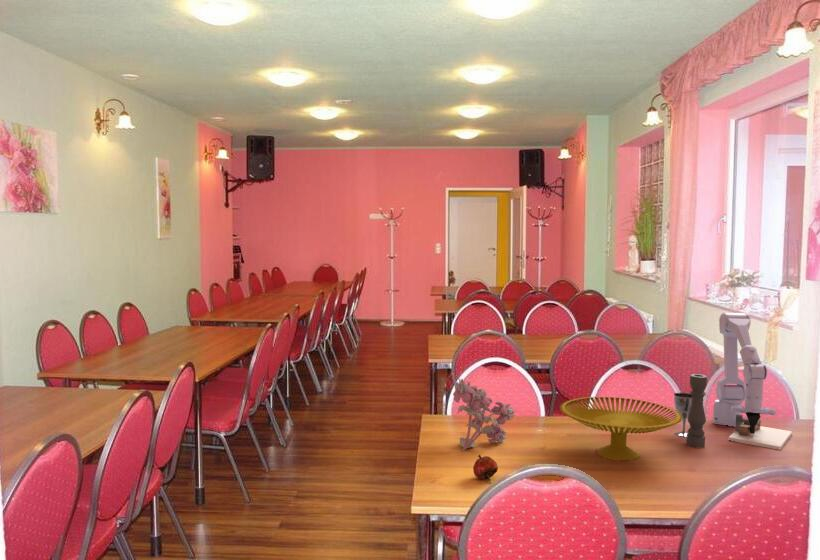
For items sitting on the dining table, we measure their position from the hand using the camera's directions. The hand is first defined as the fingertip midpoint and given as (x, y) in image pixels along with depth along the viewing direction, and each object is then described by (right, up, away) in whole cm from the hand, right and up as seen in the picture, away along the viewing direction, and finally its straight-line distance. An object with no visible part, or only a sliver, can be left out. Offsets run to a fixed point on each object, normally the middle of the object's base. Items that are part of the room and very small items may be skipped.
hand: (751, 432), depth 260 cm
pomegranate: (-102, -5, -42) cm, 111 cm away
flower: (-99, -2, -9) cm, 99 cm away
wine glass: (-23, -2, +5) cm, 24 cm away
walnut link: (+2, -1, +6) cm, 6 cm away
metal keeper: (+1, -1, +5) cm, 5 cm away
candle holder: (-23, -3, -7) cm, 25 cm away
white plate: (+5, -2, +3) cm, 6 cm away
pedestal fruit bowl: (-54, -4, -17) cm, 57 cm away
